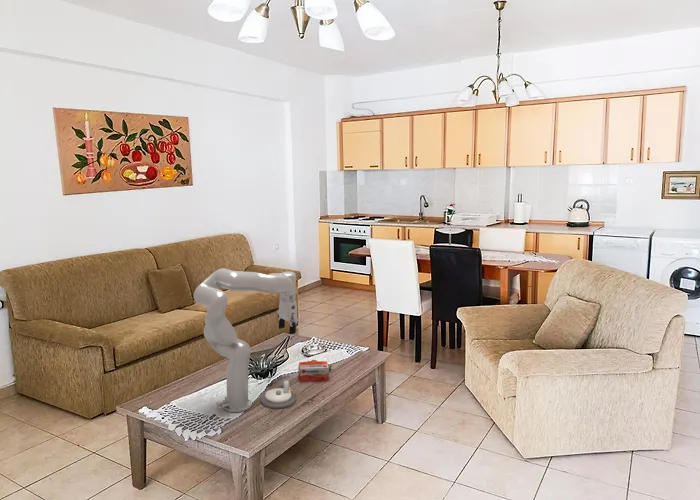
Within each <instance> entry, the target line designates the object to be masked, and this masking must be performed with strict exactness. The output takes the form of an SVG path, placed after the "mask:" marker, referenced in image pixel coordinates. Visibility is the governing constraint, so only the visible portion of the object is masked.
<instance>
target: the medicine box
mask: <svg viewBox="0 0 700 500" xmlns="http://www.w3.org/2000/svg"><path fill="white" fill-rule="evenodd" d="M297 369H298V370H297V371H298V374H297V375H298V379H299V380H298V381H299V383H300V384H301V383H324V382H326V383H327V382H329V381H330V379H329V378H330V370H329V367H328V361H326V360H322V361H318V360H317V361H316V362H307V361H299V362H298V367H297Z"/></svg>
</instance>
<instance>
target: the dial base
mask: <svg viewBox="0 0 700 500" xmlns="http://www.w3.org/2000/svg"><path fill="white" fill-rule="evenodd" d="M289 390H292V387H290V386H289ZM266 392H267V391H266ZM266 392H263V393H262V395H261V396H260V404H261V405H262V406H263V407H265V408H268V409H273V410H281V409H282V410H283V409H288V408H289V407H292V406H294V405H295V404H296V401H297V396H296V394H295V393H294V392H293V393H291V399H290V400H289V401H287V402H284V403H272V402H269V401H267V400H266V398H265V394H266Z"/></svg>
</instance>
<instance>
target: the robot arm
mask: <svg viewBox="0 0 700 500" xmlns="http://www.w3.org/2000/svg"><path fill="white" fill-rule="evenodd" d="M296 287H297V274H296V273H295V272H294V271H289V270H288V271H283V272H278V273H277V272H276V273H275V272H273V273H268V274H265V273H261V272H257V271H240V270H231V269H229V268H226V267H225V268H222V267H221V268H219V269H217V270H216V271H214V272H213V273H211V274H210V275H209V276H208V277H207V278H205V280H203V281H202V282H201V283H200V284H199V285H198V286H197V287H195V290H194V291H193V299H194V301H195V302H196V303H197V304H199V305H201V306H203V307H206V308H207V311H206V314H205V319H204V322H205V323H204V324H205V325H204V327H203V336H204V338H205V340H206V341H207V342H208V344H209V345H210V346H211V347H212V348H213V350H214V351H215V352H216V353H217V354H218V355H220V356H222V357H224V358H227V359H228V360H229V363H228V365H227V367H226V396H225V397H224V399H222V401H218V402H216V403H215V404H216V407H221V408H222V409H224V410H225V411H227V412H229V413H243V412H246V411H249V410H250V408H251V407H252V405H253V404H252V401H251V399H249V364H250V363H249V362H250V358H251V350H252V349H251V346H250V344H249V343H247V341H245V340H243V339H241V338H238V333H237V331H236V330H235V328H234V326H233V325H232V324H231V322H230V321H229V320H228V317H227V316H226V315H225V313H226V312H225V311H226V308H227V306H228V301H229V300H228V296H227V293H226V292H225V291H223V290H221V288H222V289H225V290H228V291H237V292H239V291H240V292H243V291H244V292H258V293H273V294H279V303H278V304H279V305H278V309H276V313H277V319H278V329H279V330H280V329H283V328H286V324H285V323H286V322H288V323H289V334H290V335H295V334H296V332H297V331H296V329H297V325H298V322H299V318H298V306H297V301H296V297H297V295H296V291H297V289H296Z"/></svg>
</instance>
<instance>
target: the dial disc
mask: <svg viewBox="0 0 700 500" xmlns="http://www.w3.org/2000/svg"><path fill="white" fill-rule="evenodd" d="M289 387H290V381H289V380H284V381H283V388H281V387H278V388H271V389H269V390H267V391H266V394H265V398H266V400H267V401H269V402H272V403H284V402H287V401H289V400H290V399H291V393H294V390H293V389H291V390H289Z"/></svg>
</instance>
